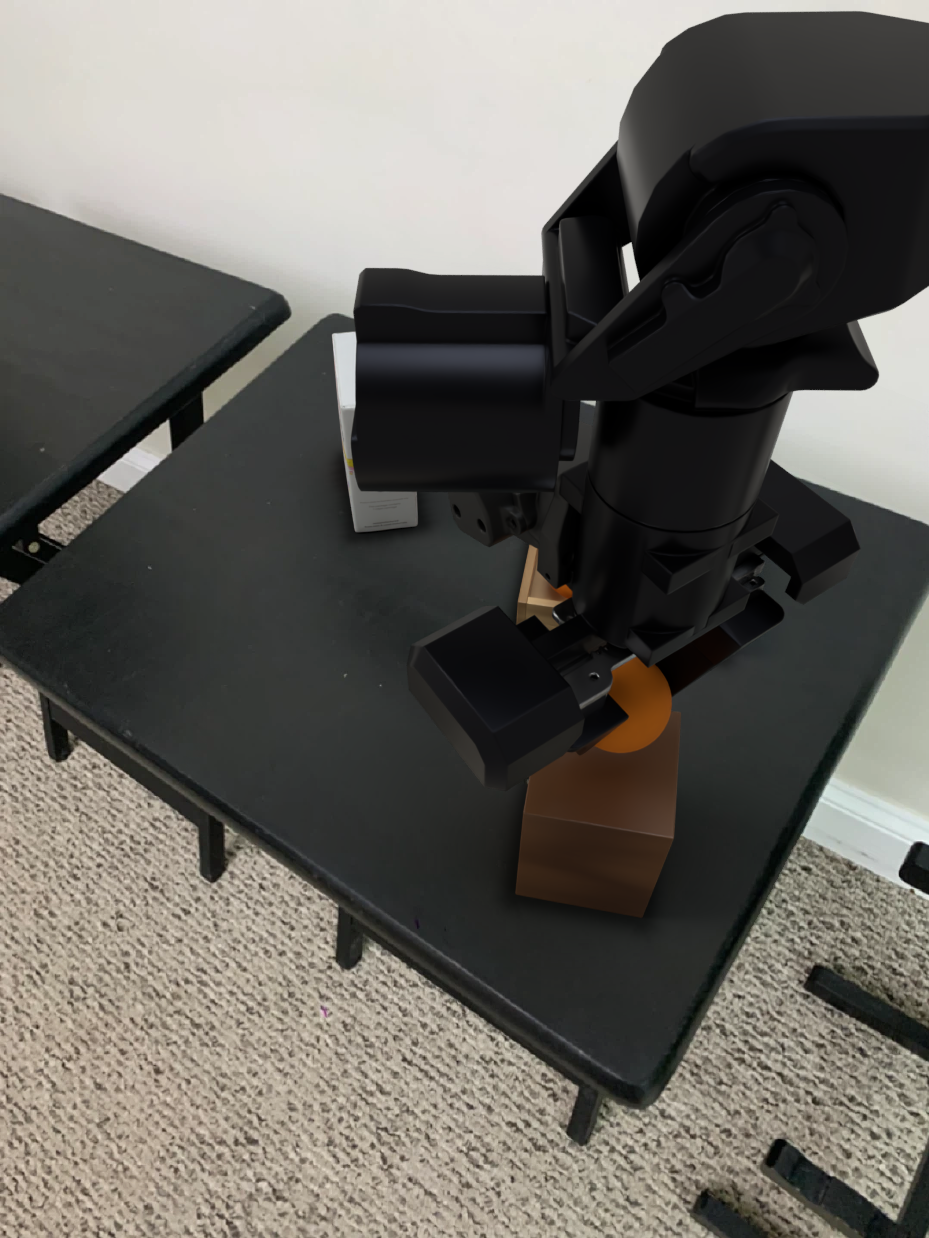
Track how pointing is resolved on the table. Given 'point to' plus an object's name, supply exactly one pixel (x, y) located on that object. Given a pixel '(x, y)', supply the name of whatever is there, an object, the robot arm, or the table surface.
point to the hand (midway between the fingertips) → (615, 720)
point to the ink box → (366, 505)
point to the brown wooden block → (601, 826)
